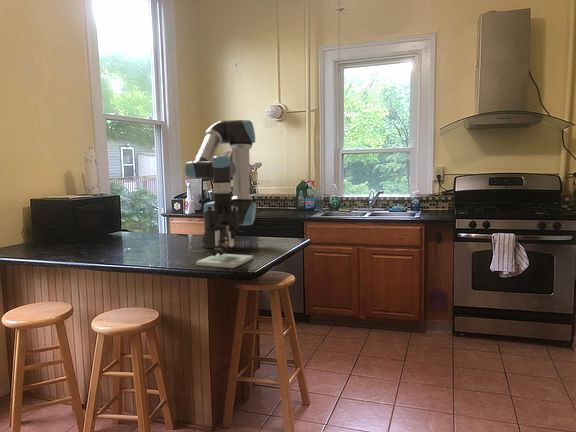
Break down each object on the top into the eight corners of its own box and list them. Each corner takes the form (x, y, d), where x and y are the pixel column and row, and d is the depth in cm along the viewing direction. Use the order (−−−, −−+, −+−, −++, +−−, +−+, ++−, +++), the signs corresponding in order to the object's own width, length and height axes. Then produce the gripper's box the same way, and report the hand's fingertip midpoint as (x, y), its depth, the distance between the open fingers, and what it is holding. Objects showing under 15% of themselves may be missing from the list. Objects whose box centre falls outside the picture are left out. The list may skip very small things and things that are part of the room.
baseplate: (217, 256, 209) (217, 253, 209) (253, 258, 202) (252, 255, 202) (196, 265, 192) (195, 261, 192) (233, 267, 186) (233, 264, 186)
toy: (210, 242, 188) (225, 233, 202) (208, 257, 190) (223, 247, 204) (224, 246, 187) (238, 237, 201) (222, 261, 189) (235, 250, 203)
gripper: (198, 193, 194) (201, 246, 197) (238, 193, 187) (240, 248, 190) (208, 191, 201) (210, 243, 204) (246, 192, 194) (248, 245, 196)
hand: (224, 245), depth 197 cm, fingers closed on toy, 6 cm apart
